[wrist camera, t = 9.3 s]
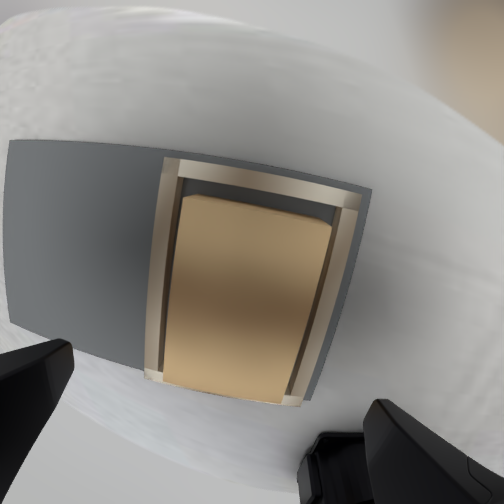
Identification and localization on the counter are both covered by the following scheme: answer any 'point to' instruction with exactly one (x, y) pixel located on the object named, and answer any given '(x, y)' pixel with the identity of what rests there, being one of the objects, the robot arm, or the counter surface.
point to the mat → (114, 239)
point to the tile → (240, 296)
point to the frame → (181, 168)
